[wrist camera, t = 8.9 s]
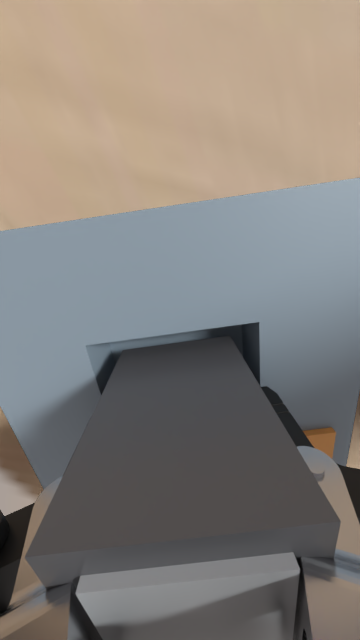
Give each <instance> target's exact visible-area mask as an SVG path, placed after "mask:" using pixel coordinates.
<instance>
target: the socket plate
mask: <svg viewBox="0 0 360 640" xmlns="http://www.w3.org/2000/svg"><path fill="white" fill-rule="evenodd" d="M224 336H231V338H232V340H233V341H234V343H235V345H236V346H237V348H238V350H239V352H240V353H241V355H242V357H243V358H244V360H245V362H246V363H247V365H248V367H249V368H250V370H251V372H252V373H253V375H254V377H255V378H256V380H257V382H258V383H259V385H260V387H264V386H267V387H269V388H270V389H272V390H273V391H274V392H276V393H277V394H278V395H279V397H280V398H281V400H282V401H283V404H284V405H285V406H286V407H287V409H288V410H289V413H291V415H292V416H293V418H294V419H295V420H296V422H297V423H298V425H299V426H300V428H301V429H302V431H303V432H304V434H305V435H306V437H307V438H308V440H309V441H310V443H311V444H312V445H313V447H314V448H315V449H318V450H320V451H322V452H324V453H325V454H327V455H328V456H329V457H330V458H331V459H333V460H334V462H335V463H337V464H339V465H342V466H346V464H347V458H348V453H349V447H350V442H351V436H352V430H353V425H354V419H355V414H356V408H357V402H358V397H359V391H360V178H354V179H348V180H341V181H334V182H328V183H321V184H314V185H307V186H301V187H294V188H287V189H280V190H274V191H267V192H260V193H254V194H247V195H240V196H233V197H227V198H220V199H213V200H207V201H200V202H193V203H186V204H180V205H173V206H166V207H160V208H153V209H146V210H139V211H133V212H126V213H119V214H113V215H106V216H99V217H92V218H86V219H79V220H72V221H66V222H59V223H52V224H45V225H39V226H32V227H25V228H18V229H12V230H5V231H0V407H1V409H2V410H3V412H4V414H5V416H6V418H7V420H8V422H9V424H10V426H11V428H12V430H13V431H14V433H15V435H16V437H17V439H18V441H19V443H20V445H21V447H22V449H23V451H24V452H25V454H26V456H27V458H28V460H29V462H30V464H31V466H32V468H33V470H34V472H35V473H36V475H37V477H38V479H39V481H40V483H41V485H42V487H43V489H45V488H46V487H47V486H48V485H49V484H51V483H52V482H53V481H55V480H56V479H58V478H60V477H62V476H63V474H64V472H65V470H66V468H67V466H68V464H69V461H70V459H71V457H72V455H73V453H74V451H75V449H76V447H77V445H78V443H79V441H80V439H81V437H82V434H83V432H84V430H85V429H86V426H87V424H88V422H89V420H90V418H91V416H92V414H93V412H94V410H95V408H96V406H97V403H98V401H99V399H100V397H101V395H102V393H103V391H104V389H105V387H106V384H107V382H108V380H109V378H110V376H111V374H112V372H113V370H114V368H115V366H116V363H117V361H118V359H119V357H120V355H121V353H122V351H123V350H127V349H134V348H142V347H149V346H157V345H164V344H172V343H179V342H187V341H194V340H201V339H209V338H216V337H224Z"/></svg>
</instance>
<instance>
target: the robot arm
mask: <svg viewBox="0 0 360 640" xmlns="http://www.w3.org/2000/svg"><path fill="white" fill-rule="evenodd" d="M261 388H262V390H263V392H264V393H265V395H266V397H267V398H268V400H269V402H270V403H271V405H272V407H273V408H274V410H275V412H276V414H277V415H278V417H279V419H280V420H281V422H282V424H283V425H284V427H285V429H286V430H287V432H288V434H289V435H290V437H291V439H292V440H293V442H294V444H295V445H296V447H297V449H298V450H299V452H300V454H301V455H302V457H303V459H304V460H305V462H306V464H307V465H308V467H309V469H310V470H311V472H312V474H313V476H314V477H315V479H316V481H317V482H318V484H319V486H320V487H321V489H322V491H323V492H324V494H325V496H326V497H327V499H328V501H329V502H330V504H331V506H332V507H333V509H334V511H335V512H336V514H337V516H338V517H339V519H340V521H341V524H340V529H339V534H338V539H337V544H336V549H335V554H334V558H327V557H301V561H300V574H299V583H298V593H297V603H296V612H295V622H294V632H293V640H360V469H356V468H350V467H346V466H342V465H339V464H337V463H335V462H334V460H333V459H331V458H330V457H329V456H328V455H327V454H325V453H324V452H322V451H320V450H318V449H315V448H314V447H313V445H312V444H311V443H310V441H309V440H308V438H307V437H306V435H305V434H304V432H303V431H302V429H301V428H300V426H299V425H298V423H297V422H296V420H295V419H294V418H293V416H292V415H291V413H289V410H288V409H287V407H286V406H285V405H284V404H283V401H282V400H281V398H280V397H279V395H278V394H277V393H276V392H274V391H273V390H272V389H270V388H269V387H267V386H264V387H261ZM87 425H88V424H87ZM86 427H87V426H86ZM84 431H85V430H84ZM83 433H84V432H83ZM82 435H83V434H82ZM77 446H78V445H77ZM76 448H77V447H76ZM75 450H76V449H75ZM74 452H75V451H74ZM73 454H74V453H73ZM72 456H73V455H72ZM71 458H72V457H71ZM70 460H71V459H70ZM69 462H70V461H69ZM68 465H69V464H68ZM67 467H68V466H67ZM66 469H67V468H66ZM65 471H66V470H65ZM64 473H65V472H64ZM63 475H64V474H63ZM62 477H63V476H62ZM62 477H60V478H58V479H56V480H55V481H53V482H52V483H51V484H49V485H48V486H47V487H46V488H45V489H44V490H43V491H42V493H41V494H40V495H39V497H38V498H37V500H36V502H35V503H33V504H31V505H29V506H27V507H24V508H22V509H20V510H18V511H16V512H13V513H11V514H9V515H7V516H4V515H3V513H2V512H1V510H0V640H103V639H102V637H101V636H100V634H99V632H98V631H97V629H96V627H95V626H94V624H93V622H92V621H91V619H90V617H89V616H88V614H87V612H86V611H85V609H84V607H83V606H82V604H81V602H80V601H79V599H78V597H77V596H76V594H75V593H76V590H77V589H76V588H75V586H74V584H73V583H72V582H70V583H66V584H62V585H58V586H55V587H51V588H48V589H46V588H45V587H44V585H43V584H42V582H41V581H40V579H39V578H38V576H37V575H36V574H35V572H34V571H33V569H32V568H31V566H30V565H29V563H28V562H27V560H26V559H25V555H26V553H27V551H28V549H29V547H30V545H31V543H32V540H33V538H34V536H35V534H36V532H37V530H38V528H39V526H40V524H41V521H42V519H43V517H44V515H45V513H46V511H47V509H48V507H49V505H50V502H51V500H52V498H53V496H54V494H55V492H56V490H57V488H58V486H59V484H60V481H61V479H62Z"/></svg>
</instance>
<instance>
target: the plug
mask: <svg viewBox="0 0 360 640" xmlns="http://www.w3.org/2000/svg"><path fill="white" fill-rule="evenodd" d="M340 524H341V521H340V519H339V517H338V516H337V514H336V512H335V511H334V509H333V507H332V506H331V504H330V502H329V501H328V499H327V497H326V496H325V494H324V492H323V491H322V489H321V487H320V486H319V484H318V482H317V481H316V479H315V477H314V476H313V474H312V472H311V470H310V469H309V467H308V465H307V464H306V462H305V460H304V459H303V457H302V455H301V454H300V452H299V450H298V449H297V447H296V445H295V444H294V442H293V440H292V439H291V437H290V435H289V434H288V432H287V430H286V429H285V427H284V425H283V424H282V422H281V420H280V419H279V417H278V415H277V414H276V412H275V410H274V408H273V407H272V405H271V403H270V402H269V400H268V398H267V397H266V395H265V393H264V392H263V390H262V388H261V387H260V385H259V383H258V382H257V380H256V378H255V377H254V375H253V373H252V372H251V370H250V368H249V367H248V365H247V363H246V362H245V360H244V358H243V357H242V355H241V353H240V352H239V350H238V348H237V346H236V345H235V343H234V341H233V340H232V338H231V336H224V337H216V338H209V339H201V340H194V341H187V342H179V343H172V344H164V345H157V346H149V347H142V348H134V349H127V350H123V351H122V353H121V355H120V357H119V359H118V361H117V363H116V366H115V368H114V370H113V372H112V374H111V376H110V378H109V380H108V382H107V384H106V387H105V389H104V391H103V393H102V395H101V397H100V399H99V401H98V403H97V406H96V408H95V410H94V412H93V414H92V416H91V418H90V420H89V422H88V425H87V427H86V429H85V431H84V433H83V435H82V437H81V439H80V441H79V443H78V446H77V448H76V450H75V452H74V454H73V456H72V458H71V460H70V462H69V465H68V467H67V469H66V471H65V473H64V475H63V477H62V479H61V481H60V484H59V486H58V488H57V490H56V492H55V494H54V496H53V498H52V500H51V502H50V505H49V507H48V509H47V511H46V513H45V515H44V517H43V519H42V521H41V524H40V526H39V528H38V530H37V532H36V534H35V536H34V538H33V540H32V543H31V545H30V547H29V549H28V551H27V553H26V555H25V559H26V560H27V562H28V563H29V565H30V566H31V568H32V569H33V571H34V572H35V574H36V575H37V576H38V578H39V579H40V581H41V582H42V584H43V585H44V587H45V588H46V589H48V588H51V587H55V586H58V585H62V584H66V583H70V582H72V583H73V584H74V586H75V588H76V589H77V590H76V593H75V594H76V596H77V597H78V599H79V601H80V602H81V604H82V606H83V607H84V609H85V611H86V612H87V614H88V616H89V617H90V619H91V621H92V622H93V624H94V626H95V627H96V629H97V631H98V632H99V634H100V636H101V637H102V639H103V640H293V632H294V622H295V612H296V603H297V593H298V583H299V574H300V561H301V557H327V558H334V554H335V549H336V544H337V539H338V534H339V529H340Z"/></svg>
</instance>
